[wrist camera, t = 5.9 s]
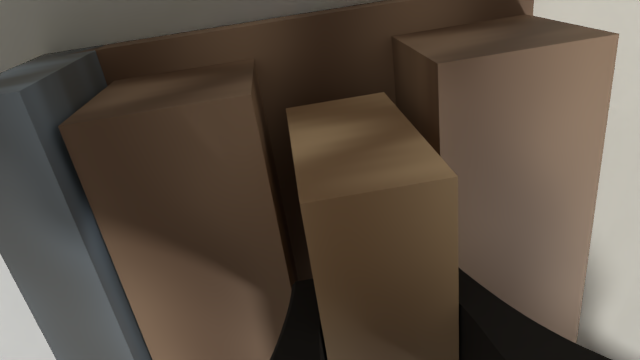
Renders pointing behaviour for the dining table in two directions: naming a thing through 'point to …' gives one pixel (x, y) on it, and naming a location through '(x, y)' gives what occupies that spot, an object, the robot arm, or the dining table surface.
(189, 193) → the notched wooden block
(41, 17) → the dining table surface
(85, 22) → the dining table surface
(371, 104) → the tall tan pillar
